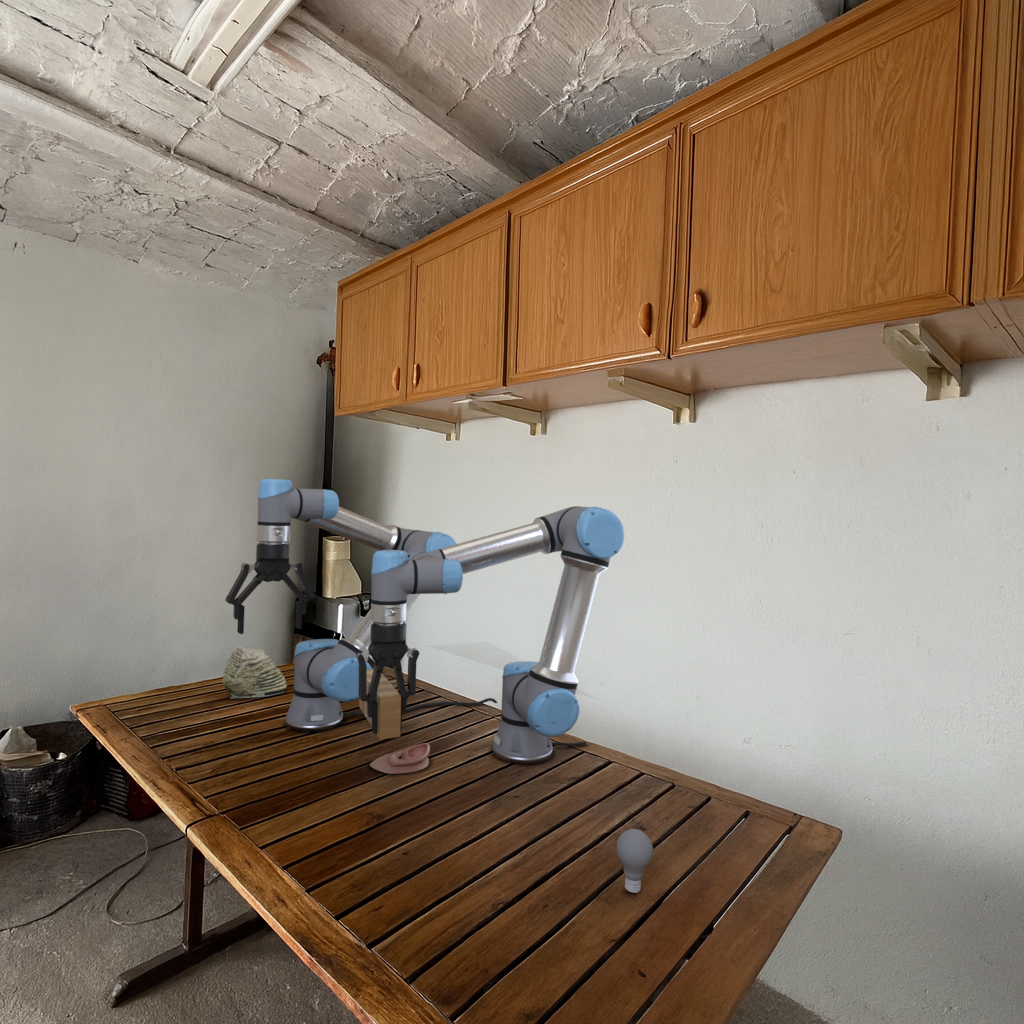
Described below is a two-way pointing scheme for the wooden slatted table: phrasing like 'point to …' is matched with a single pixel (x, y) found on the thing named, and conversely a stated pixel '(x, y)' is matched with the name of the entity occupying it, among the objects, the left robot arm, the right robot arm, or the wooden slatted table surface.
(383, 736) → the bar
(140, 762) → the wooden slatted table surface
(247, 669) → the fossil
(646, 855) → the light bulb
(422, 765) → the anatomical model
